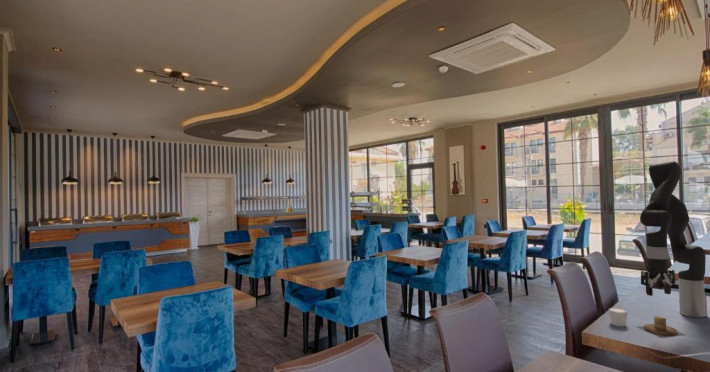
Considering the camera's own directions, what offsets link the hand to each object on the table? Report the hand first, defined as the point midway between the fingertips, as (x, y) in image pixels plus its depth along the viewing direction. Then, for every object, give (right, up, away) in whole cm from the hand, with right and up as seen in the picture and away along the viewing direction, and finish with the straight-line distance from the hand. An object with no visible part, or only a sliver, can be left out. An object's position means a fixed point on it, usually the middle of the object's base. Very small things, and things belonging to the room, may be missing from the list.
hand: (658, 294), depth 162 cm
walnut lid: (+1, -15, 0) cm, 15 cm away
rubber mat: (+1, -16, 0) cm, 16 cm away
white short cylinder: (-11, -17, +9) cm, 22 cm away
